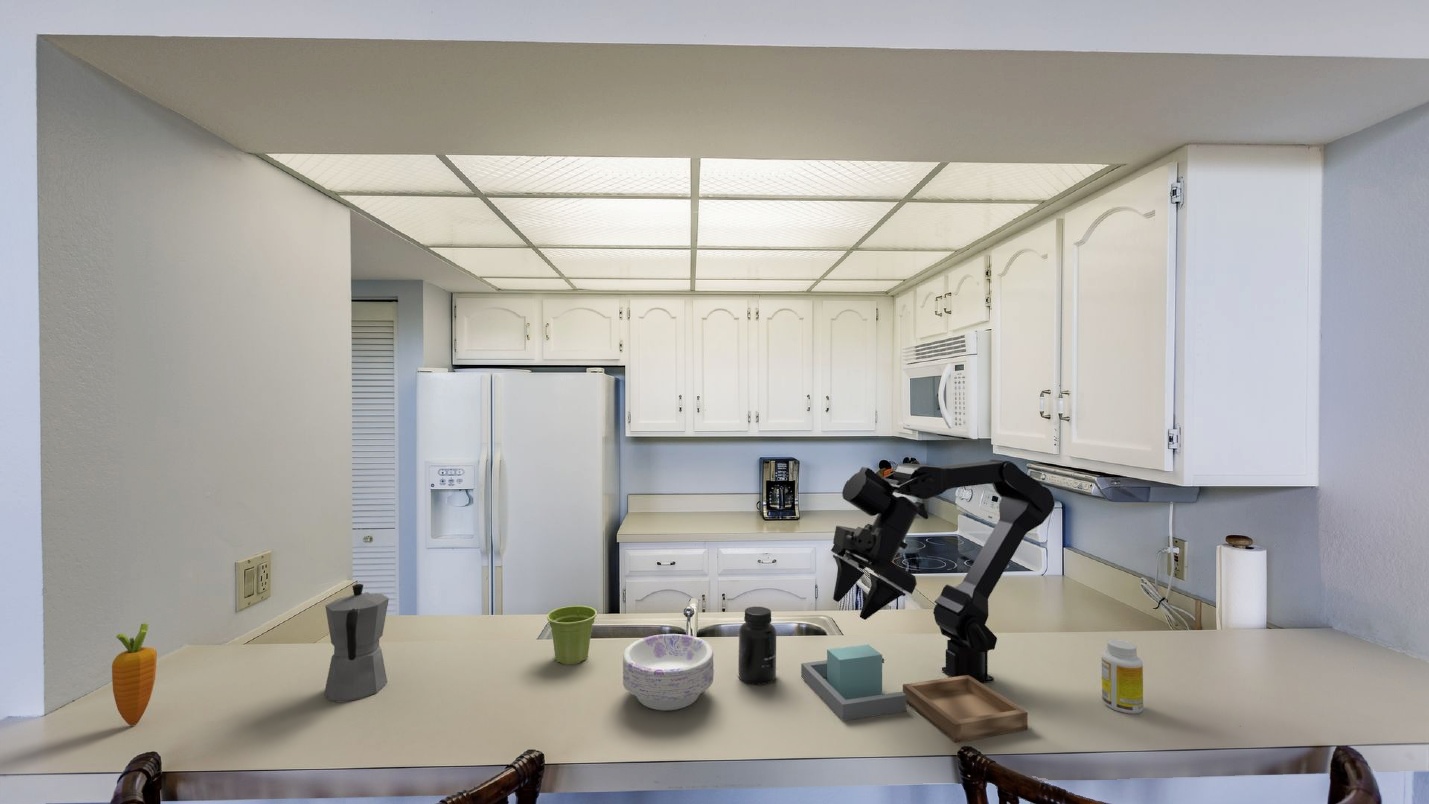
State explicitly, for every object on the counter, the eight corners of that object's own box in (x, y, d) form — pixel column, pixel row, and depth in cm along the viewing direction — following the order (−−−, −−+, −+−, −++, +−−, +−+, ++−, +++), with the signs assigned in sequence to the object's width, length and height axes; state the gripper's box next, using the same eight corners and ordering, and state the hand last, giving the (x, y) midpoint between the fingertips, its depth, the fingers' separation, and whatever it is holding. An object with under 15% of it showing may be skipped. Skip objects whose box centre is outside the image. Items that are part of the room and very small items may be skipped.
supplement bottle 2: (1150, 710, 94) (1150, 647, 95) (1130, 718, 92) (1130, 653, 92) (1114, 695, 100) (1114, 635, 100) (1094, 702, 97) (1094, 640, 97)
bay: (857, 669, 109) (857, 656, 109) (906, 710, 94) (906, 695, 94) (801, 677, 106) (801, 663, 106) (842, 720, 91) (842, 704, 91)
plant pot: (597, 666, 110) (597, 620, 110) (545, 671, 108) (545, 624, 108) (595, 647, 119) (596, 604, 119) (547, 651, 117) (548, 607, 117)
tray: (968, 690, 101) (968, 674, 101) (1027, 729, 89) (1027, 712, 89) (902, 700, 98) (902, 684, 98) (955, 742, 85) (955, 724, 85)
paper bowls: (622, 725, 90) (622, 672, 90) (622, 679, 105) (623, 635, 105) (720, 717, 92) (720, 666, 92) (707, 674, 107) (707, 630, 107)
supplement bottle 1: (774, 687, 102) (774, 618, 102) (735, 683, 103) (735, 615, 103) (777, 670, 109) (778, 605, 109) (741, 667, 110) (741, 603, 110)
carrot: (115, 738, 85) (117, 635, 86) (105, 728, 88) (107, 628, 88) (161, 723, 90) (162, 624, 90) (150, 713, 92) (151, 618, 92)
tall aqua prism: (872, 683, 104) (872, 644, 104) (886, 695, 99) (886, 654, 99) (827, 690, 101) (827, 649, 101) (839, 702, 97) (839, 660, 97)
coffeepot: (330, 678, 105) (331, 577, 105) (390, 668, 109) (391, 571, 109) (314, 719, 91) (315, 603, 91) (383, 706, 95) (385, 595, 95)
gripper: (829, 498, 110) (789, 572, 107) (885, 515, 92) (838, 605, 89) (874, 526, 112) (836, 600, 110) (937, 549, 94) (892, 637, 92)
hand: (848, 609), depth 100 cm, fingers open, 9 cm apart
